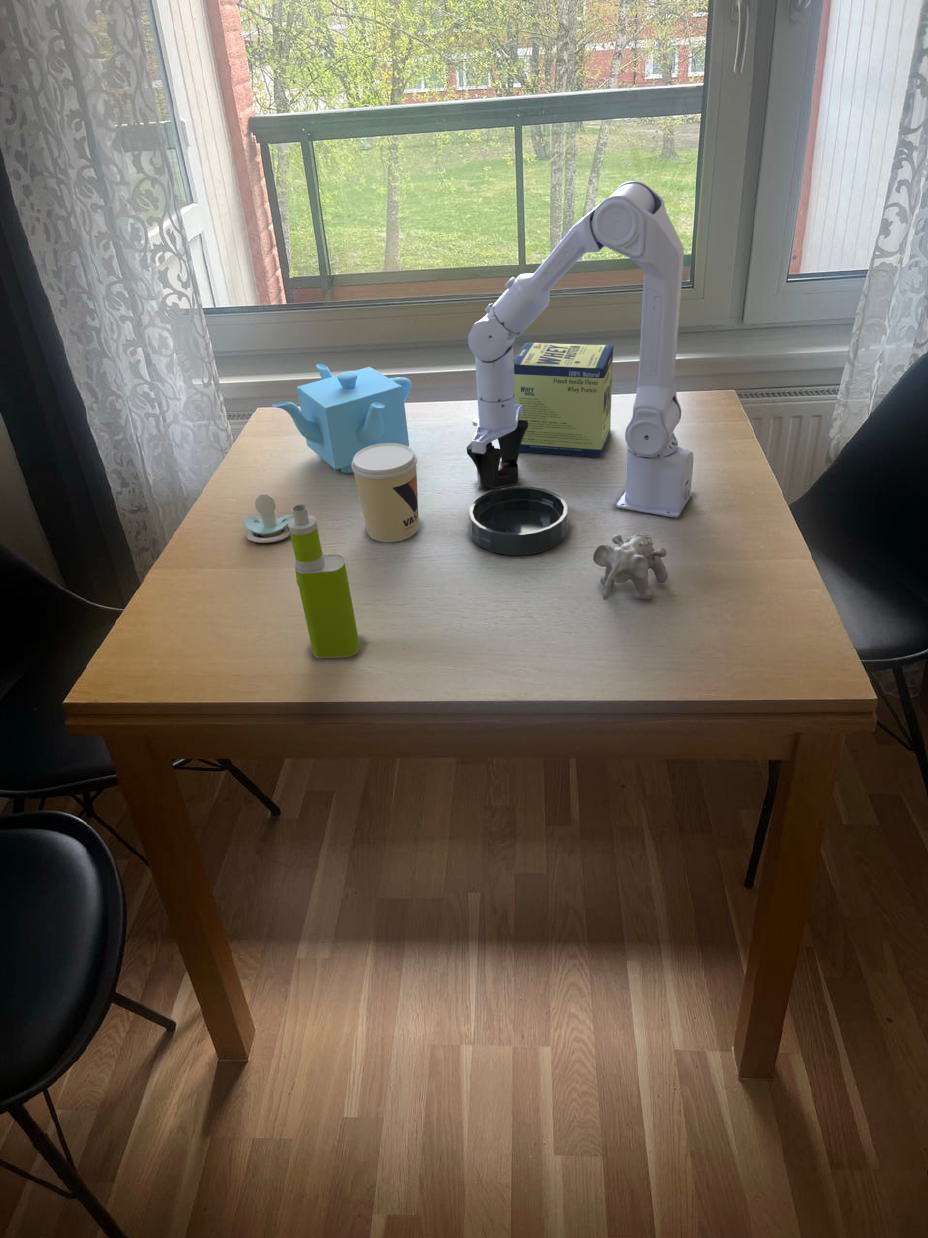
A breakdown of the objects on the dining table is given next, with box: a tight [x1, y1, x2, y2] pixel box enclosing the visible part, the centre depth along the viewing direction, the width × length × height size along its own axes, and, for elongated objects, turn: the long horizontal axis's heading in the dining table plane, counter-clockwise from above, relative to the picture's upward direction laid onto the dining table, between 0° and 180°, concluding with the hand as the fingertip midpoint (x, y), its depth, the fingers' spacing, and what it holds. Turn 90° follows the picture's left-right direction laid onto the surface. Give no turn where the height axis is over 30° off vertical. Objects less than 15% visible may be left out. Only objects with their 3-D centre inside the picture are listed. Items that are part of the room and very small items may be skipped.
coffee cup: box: [352, 443, 419, 543], centre depth 131 cm, size 9×9×12 cm
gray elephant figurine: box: [592, 532, 669, 601], centre depth 114 cm, size 9×12×8 cm
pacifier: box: [243, 493, 294, 544], centre depth 134 cm, size 7×6×6 cm
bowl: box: [468, 485, 569, 556], centre depth 131 cm, size 14×14×4 cm
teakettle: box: [271, 363, 412, 474], centre depth 151 cm, size 19×19×15 cm
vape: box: [287, 504, 360, 659], centre depth 106 cm, size 4×6×20 cm, turn 90°
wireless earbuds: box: [476, 460, 520, 491], centre depth 144 cm, size 5×7×3 cm, turn 104°
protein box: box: [513, 342, 614, 459], centre depth 150 cm, size 10×16×16 cm
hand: (500, 475), depth 144 cm, fingers closed on wireless earbuds, 7 cm apart
